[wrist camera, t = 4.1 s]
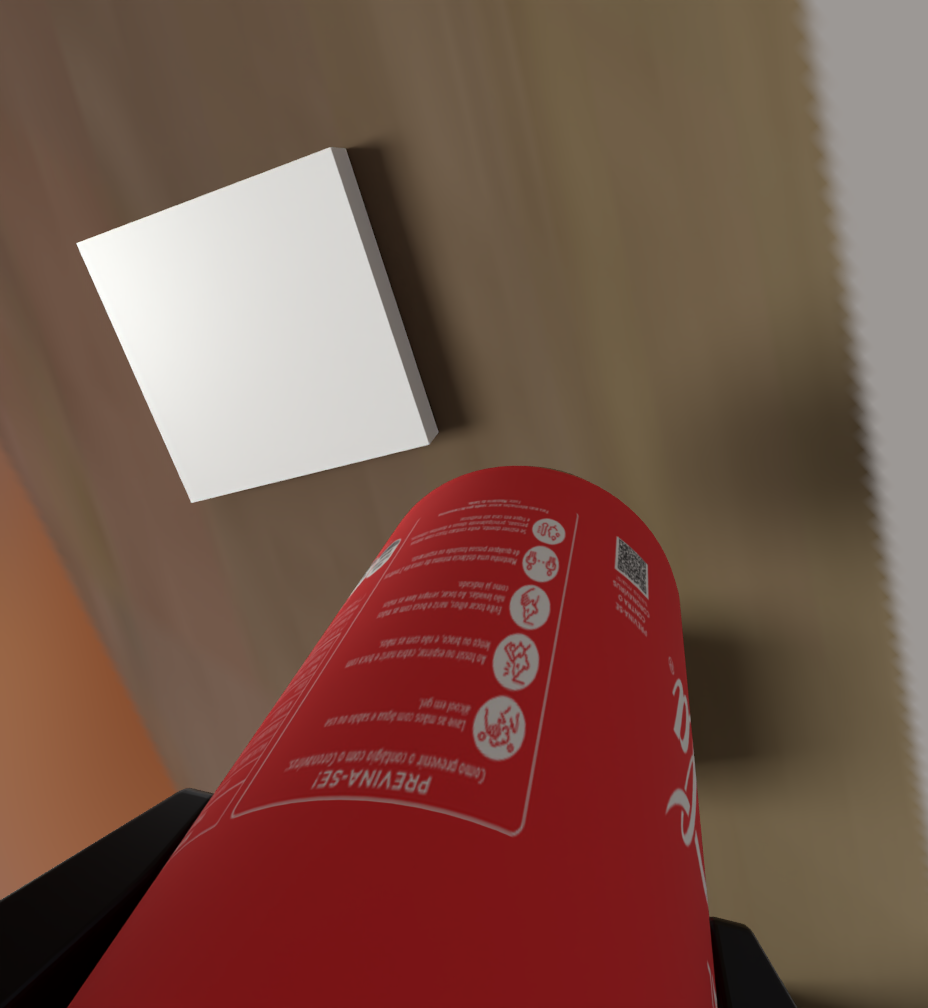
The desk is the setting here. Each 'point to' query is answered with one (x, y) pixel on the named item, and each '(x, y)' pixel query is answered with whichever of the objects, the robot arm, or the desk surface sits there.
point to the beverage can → (456, 786)
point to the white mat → (264, 329)
